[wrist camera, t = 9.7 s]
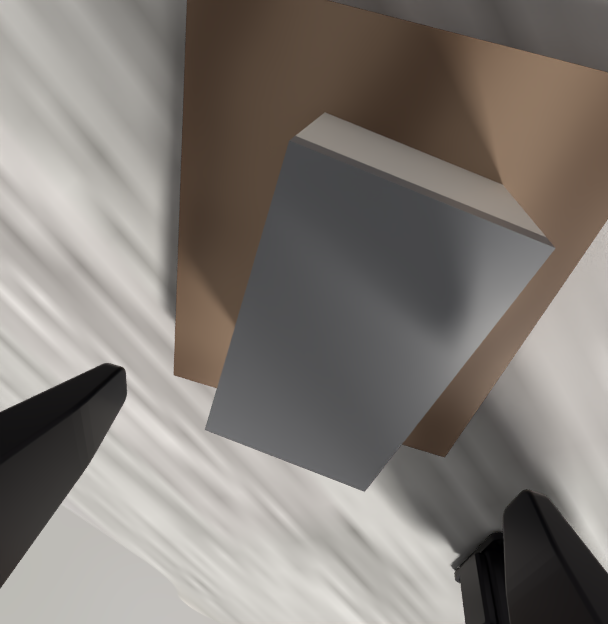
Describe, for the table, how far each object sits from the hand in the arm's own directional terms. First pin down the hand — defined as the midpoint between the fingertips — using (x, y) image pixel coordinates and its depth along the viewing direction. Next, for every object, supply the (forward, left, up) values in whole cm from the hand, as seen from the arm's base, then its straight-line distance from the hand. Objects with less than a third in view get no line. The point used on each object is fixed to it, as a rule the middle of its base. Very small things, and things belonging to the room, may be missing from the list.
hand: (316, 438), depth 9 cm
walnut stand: (0, 0, -10) cm, 10 cm away
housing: (0, 0, -8) cm, 8 cm away
